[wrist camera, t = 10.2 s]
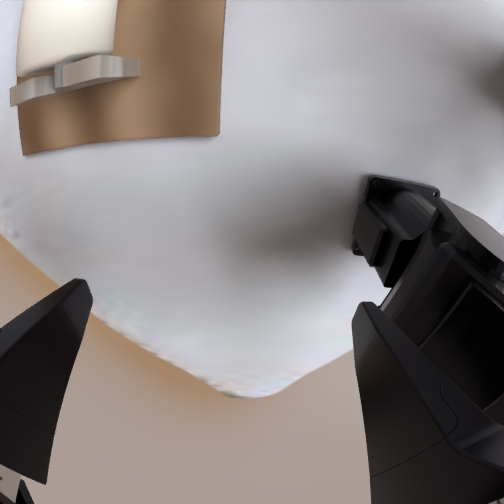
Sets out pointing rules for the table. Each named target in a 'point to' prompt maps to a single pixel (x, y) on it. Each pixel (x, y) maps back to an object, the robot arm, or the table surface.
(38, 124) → the roll cradle
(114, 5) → the paper roll
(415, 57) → the table surface
